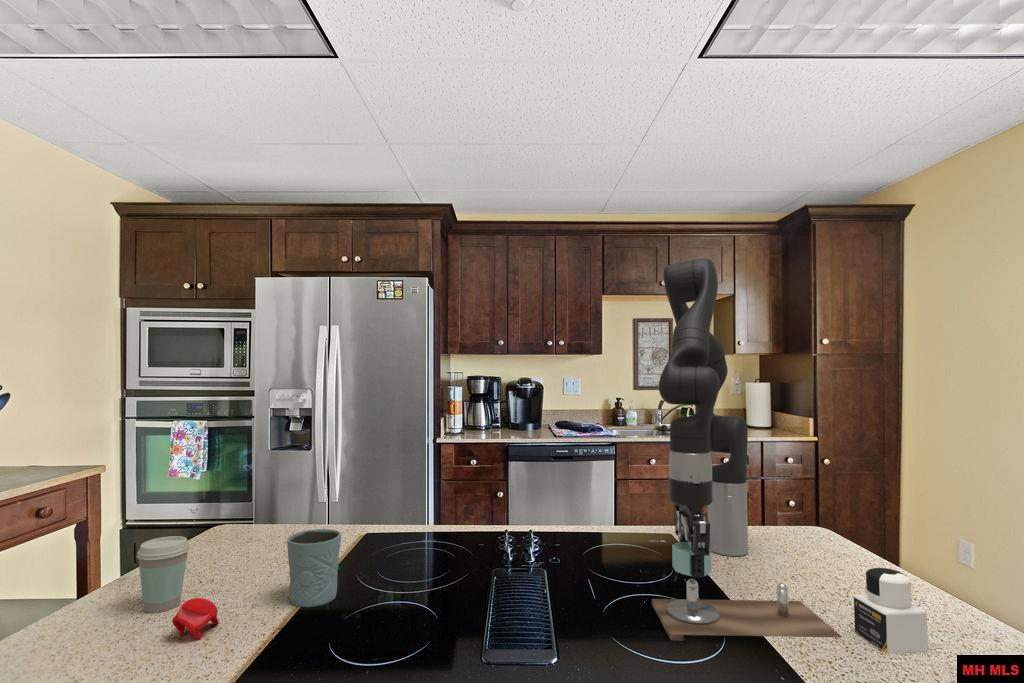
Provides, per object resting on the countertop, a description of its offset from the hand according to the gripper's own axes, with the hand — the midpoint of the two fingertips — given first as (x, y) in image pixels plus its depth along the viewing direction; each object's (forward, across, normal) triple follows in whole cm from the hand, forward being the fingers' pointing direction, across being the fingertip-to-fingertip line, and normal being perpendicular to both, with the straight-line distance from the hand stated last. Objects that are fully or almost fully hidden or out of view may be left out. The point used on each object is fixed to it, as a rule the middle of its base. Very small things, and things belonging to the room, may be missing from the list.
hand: (691, 569), depth 98 cm
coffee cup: (+9, -2, -99) cm, 99 cm away
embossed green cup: (+9, -7, -72) cm, 73 cm away
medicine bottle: (+9, +9, +29) cm, 32 cm away
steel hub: (+9, 0, 0) cm, 9 cm away
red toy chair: (+9, +8, -86) cm, 87 cm away
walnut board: (+9, +1, +8) cm, 12 cm away
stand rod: (+9, 0, +16) cm, 18 cm away
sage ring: (0, 0, 0) cm, 0 cm away
